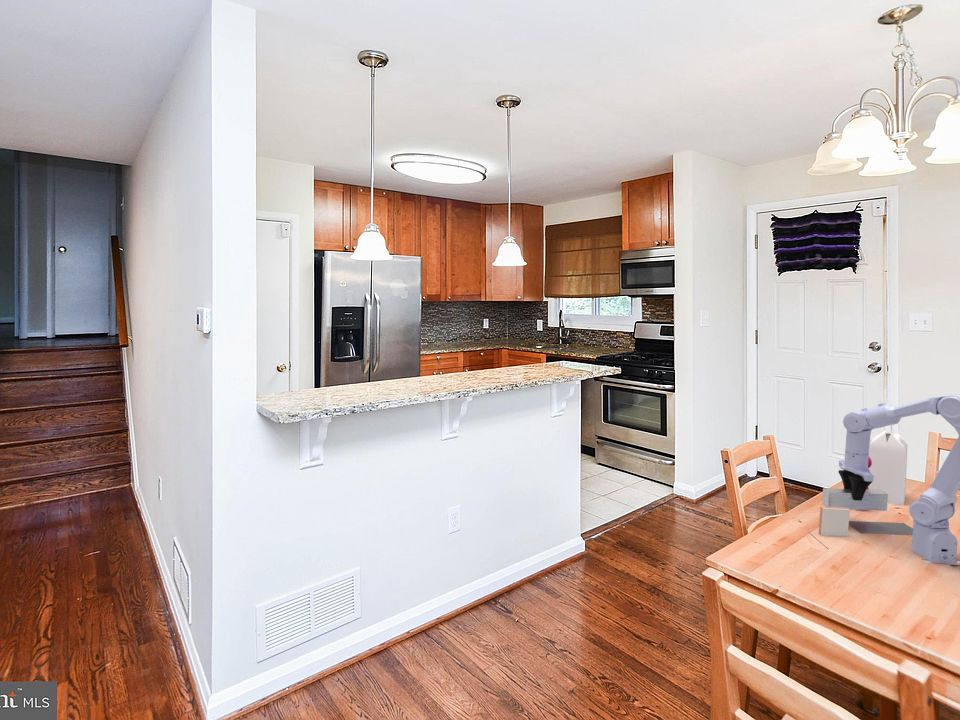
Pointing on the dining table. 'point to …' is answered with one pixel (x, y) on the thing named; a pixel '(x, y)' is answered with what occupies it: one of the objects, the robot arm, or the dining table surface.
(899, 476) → the milk
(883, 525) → the board
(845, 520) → the tile
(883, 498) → the bar
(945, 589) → the dining table surface
